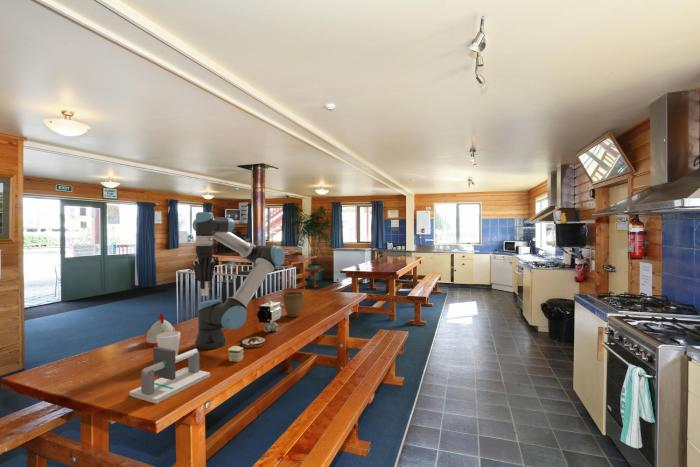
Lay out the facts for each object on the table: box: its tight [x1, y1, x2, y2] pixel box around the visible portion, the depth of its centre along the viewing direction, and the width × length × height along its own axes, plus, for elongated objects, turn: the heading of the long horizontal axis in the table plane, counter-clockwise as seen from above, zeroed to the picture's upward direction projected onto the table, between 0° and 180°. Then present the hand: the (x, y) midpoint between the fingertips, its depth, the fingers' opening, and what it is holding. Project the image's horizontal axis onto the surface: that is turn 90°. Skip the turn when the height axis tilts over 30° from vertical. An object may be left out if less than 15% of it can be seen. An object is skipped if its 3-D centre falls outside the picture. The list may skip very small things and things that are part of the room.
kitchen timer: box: [145, 313, 176, 347], centre depth 182 cm, size 14×14×15 cm
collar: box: [152, 346, 176, 380], centre depth 127 cm, size 10×2×11 cm, turn 66°
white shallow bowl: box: [241, 336, 267, 349], centre depth 178 cm, size 15×15×4 cm
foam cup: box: [157, 330, 182, 356], centre depth 152 cm, size 10×9×13 cm
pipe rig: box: [128, 348, 211, 405], centre depth 130 cm, size 14×24×11 cm, turn 156°
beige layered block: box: [227, 345, 245, 363], centre depth 157 cm, size 10×9×6 cm
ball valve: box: [256, 300, 283, 333], centre depth 201 cm, size 18×8×18 cm, turn 163°
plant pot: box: [282, 291, 304, 318], centre depth 238 cm, size 15×15×16 cm
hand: (204, 295), depth 158 cm, fingers closed
